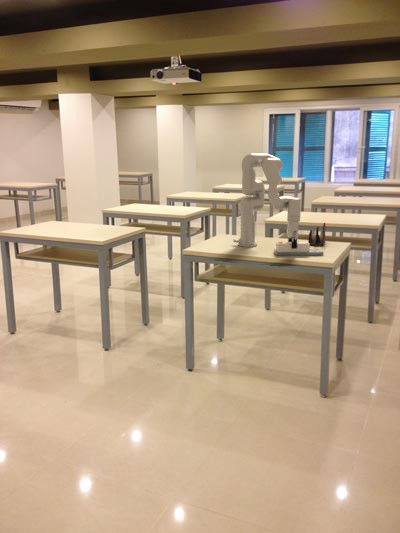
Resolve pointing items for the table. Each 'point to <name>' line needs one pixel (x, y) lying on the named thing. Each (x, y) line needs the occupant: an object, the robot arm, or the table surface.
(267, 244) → the table surface
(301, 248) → the power strip
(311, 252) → the mounting plate
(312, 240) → the letter holder
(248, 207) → the robot arm
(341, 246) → the table surface
